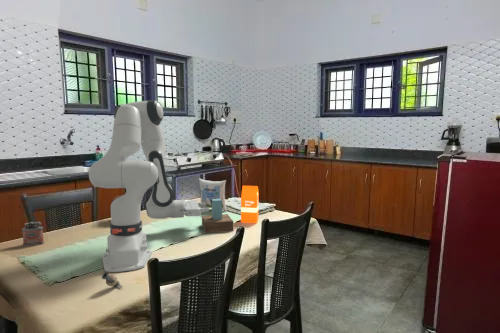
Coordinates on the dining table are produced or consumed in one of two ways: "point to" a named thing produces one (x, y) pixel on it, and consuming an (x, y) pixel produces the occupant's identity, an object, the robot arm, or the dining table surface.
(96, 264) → the dining table surface
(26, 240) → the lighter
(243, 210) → the orange juice
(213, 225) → the walnut base
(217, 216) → the teal block
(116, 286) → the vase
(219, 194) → the pouch
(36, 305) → the dining table surface
